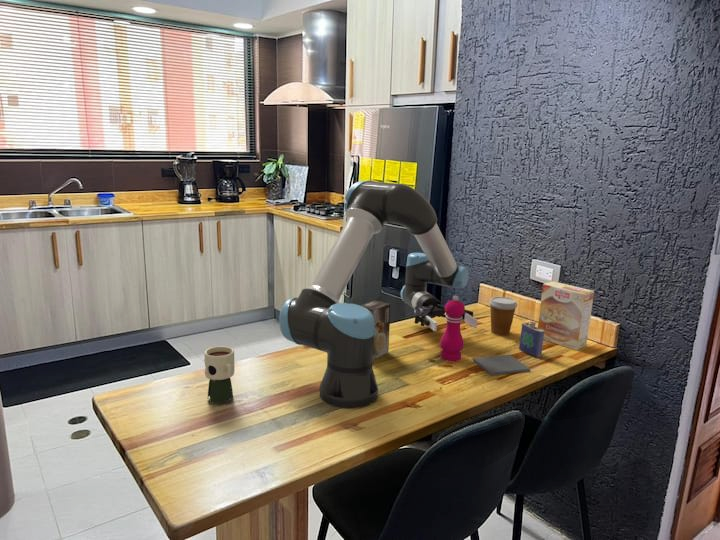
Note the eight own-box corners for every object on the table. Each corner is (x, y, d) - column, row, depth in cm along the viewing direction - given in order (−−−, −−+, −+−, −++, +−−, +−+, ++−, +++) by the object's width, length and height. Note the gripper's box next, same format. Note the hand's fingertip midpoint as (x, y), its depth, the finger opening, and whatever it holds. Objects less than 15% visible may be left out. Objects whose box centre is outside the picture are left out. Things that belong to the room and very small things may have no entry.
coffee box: (372, 347, 175) (374, 299, 171) (388, 352, 172) (391, 303, 168) (354, 355, 168) (356, 305, 164) (371, 361, 164) (374, 310, 161)
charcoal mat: (491, 375, 158) (491, 372, 158) (472, 360, 168) (472, 358, 168) (529, 371, 162) (530, 368, 161) (509, 356, 172) (509, 354, 172)
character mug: (197, 395, 139) (195, 347, 136) (223, 388, 143) (222, 341, 140) (217, 412, 131) (216, 361, 128) (244, 404, 135) (243, 354, 132)
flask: (543, 357, 172) (547, 325, 170) (535, 359, 171) (539, 326, 169) (523, 347, 180) (526, 316, 178) (516, 348, 179) (519, 317, 177)
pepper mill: (466, 356, 171) (471, 295, 166) (457, 364, 165) (462, 300, 160) (444, 351, 174) (449, 291, 170) (435, 358, 168) (439, 296, 164)
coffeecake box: (535, 337, 190) (542, 283, 185) (546, 333, 195) (552, 280, 190) (576, 351, 179) (584, 293, 175) (587, 346, 184) (595, 290, 179)
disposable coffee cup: (507, 339, 187) (511, 305, 184) (481, 332, 193) (485, 300, 190) (518, 332, 195) (521, 300, 192) (493, 326, 200) (496, 294, 197)
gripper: (458, 313, 190) (491, 334, 171) (391, 317, 183) (417, 340, 163) (460, 292, 189) (493, 311, 169) (392, 296, 181) (419, 316, 161)
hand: (456, 325), depth 166 cm, fingers open, 13 cm apart
